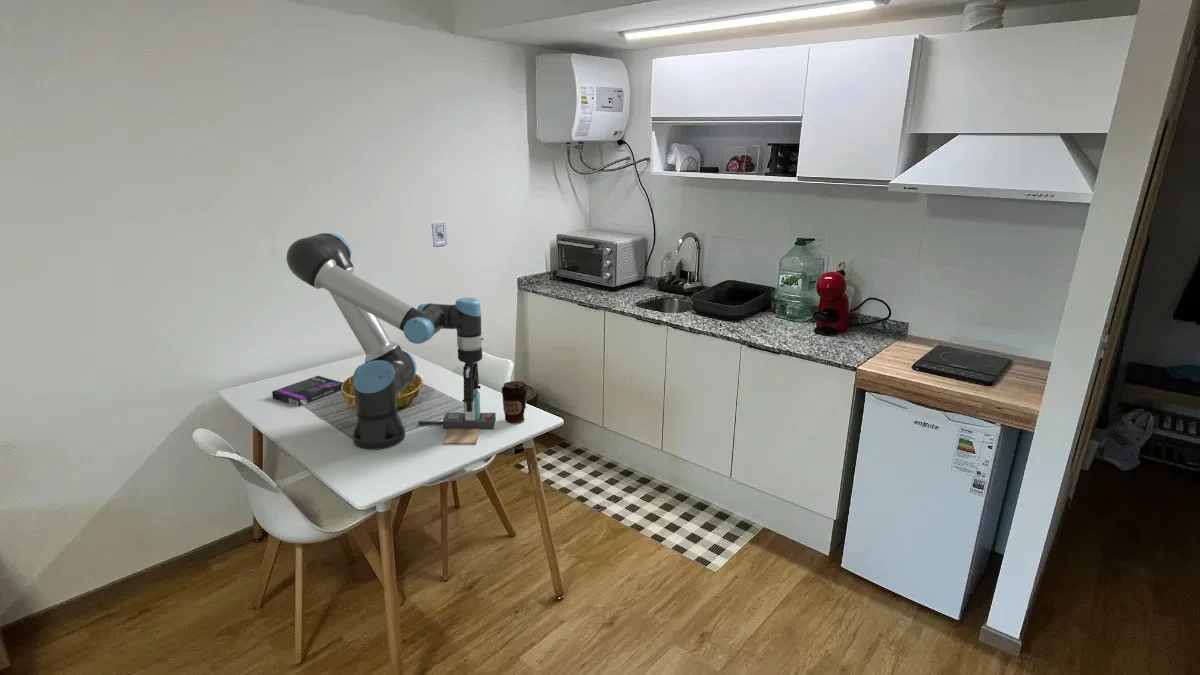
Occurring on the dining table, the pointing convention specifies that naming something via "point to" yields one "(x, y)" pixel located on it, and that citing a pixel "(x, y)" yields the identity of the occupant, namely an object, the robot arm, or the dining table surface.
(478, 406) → the block
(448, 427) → the strip
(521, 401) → the coffee cup
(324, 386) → the box
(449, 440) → the pad
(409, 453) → the dining table surface
